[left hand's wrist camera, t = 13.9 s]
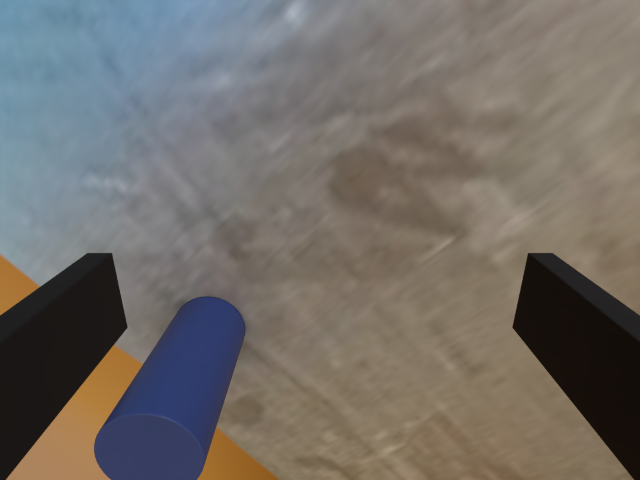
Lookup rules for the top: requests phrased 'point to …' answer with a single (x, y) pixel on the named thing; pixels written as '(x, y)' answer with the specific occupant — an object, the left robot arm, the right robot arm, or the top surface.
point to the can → (174, 397)
